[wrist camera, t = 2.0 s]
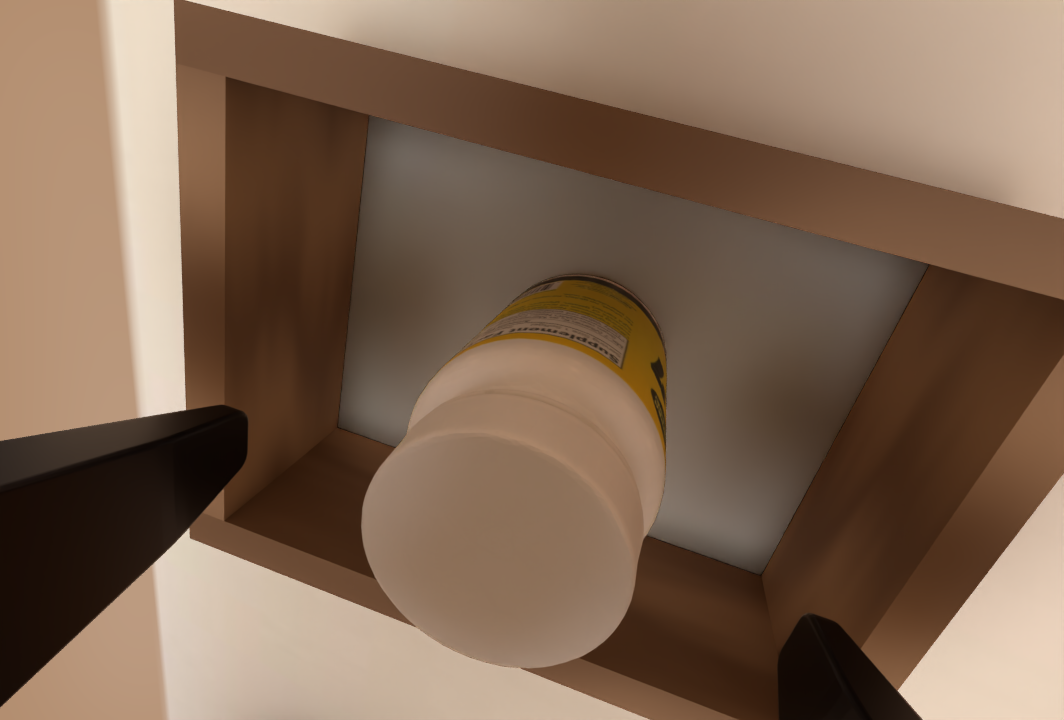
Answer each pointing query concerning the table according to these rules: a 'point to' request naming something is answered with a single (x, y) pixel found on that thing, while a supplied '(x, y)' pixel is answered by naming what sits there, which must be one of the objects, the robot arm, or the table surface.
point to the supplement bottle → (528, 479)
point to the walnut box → (660, 165)
